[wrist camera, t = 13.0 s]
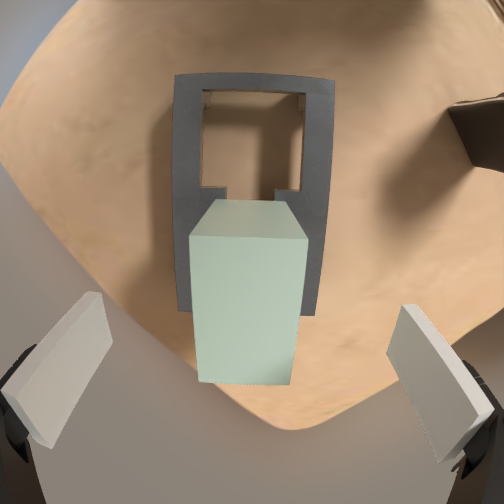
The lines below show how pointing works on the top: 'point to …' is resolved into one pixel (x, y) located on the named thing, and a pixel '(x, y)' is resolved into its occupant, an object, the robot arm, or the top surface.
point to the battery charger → (482, 130)
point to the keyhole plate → (299, 201)
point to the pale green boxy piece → (247, 291)
